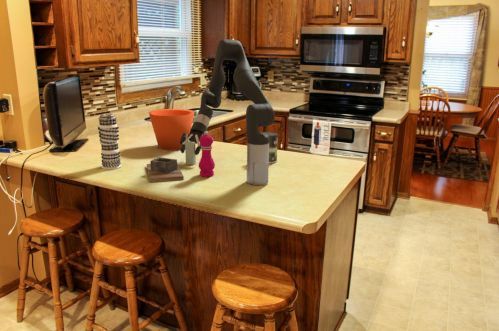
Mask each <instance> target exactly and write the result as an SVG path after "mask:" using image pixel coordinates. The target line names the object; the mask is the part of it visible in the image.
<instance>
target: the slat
mask: <svg viewBox="0 0 499 331" xmlns="http://www.w3.org/2000/svg"><path fill="white" fill-rule="evenodd" d="M196 148H197V147H196V144H195V142H190V141H186V142H185V151H184V153H185V165H190V166H191V165H192V166H195V165H196V164H197V158H196V157H197V155H195V150H196Z"/></svg>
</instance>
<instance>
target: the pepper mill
mask: <svg viewBox="0 0 499 331" xmlns="http://www.w3.org/2000/svg"><path fill="white" fill-rule="evenodd" d="M204 134H205V135H202V136H201V137H200V140H199V141H200V144H201V157H200V159H199V162H198V169H199V170H200V171H199V176H200V177H202V178H211V176H212V177H214V175H215V170H214V169H215V168H216V163H215V161H214V159H213V158H214V157H213V156H212V149H213V143H214V138H213V136H212V135H210V134H209V131H208V130H207V131H205V132H204Z"/></svg>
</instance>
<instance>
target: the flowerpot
mask: <svg viewBox="0 0 499 331" xmlns="http://www.w3.org/2000/svg"><path fill="white" fill-rule="evenodd" d="M148 115H149V119H150V123H151V126H152V128H153V133H154V136H155V139H156V143H157V146H158V148H159V149H160V150H163V151H164V150H165V151H180V149H181V147H182V145H181V144H180V140H181V137H182V135H183V133H185V134H189V133H190V130H191V127H192V125H193V122H194V117H195V116H194V115H195V111H194V110H190V109H184V108H165V109H155V110H154V109H153V110H149V112H148ZM187 138H188V137H187ZM188 141H189V140H188Z"/></svg>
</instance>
